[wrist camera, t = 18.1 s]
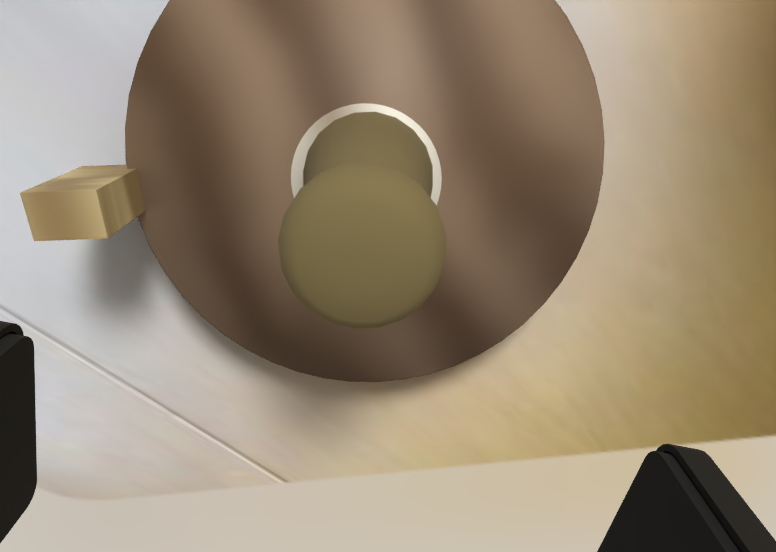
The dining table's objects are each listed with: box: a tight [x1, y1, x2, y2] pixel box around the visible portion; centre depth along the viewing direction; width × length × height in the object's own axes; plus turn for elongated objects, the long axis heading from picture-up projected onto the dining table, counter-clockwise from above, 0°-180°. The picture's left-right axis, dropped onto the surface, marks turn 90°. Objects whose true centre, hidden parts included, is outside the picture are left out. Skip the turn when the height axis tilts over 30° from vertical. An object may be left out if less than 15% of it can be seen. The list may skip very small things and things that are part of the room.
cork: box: [278, 112, 446, 329], centre depth 21 cm, size 6×6×11 cm
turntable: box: [20, 0, 604, 382], centre depth 25 cm, size 23×22×5 cm
